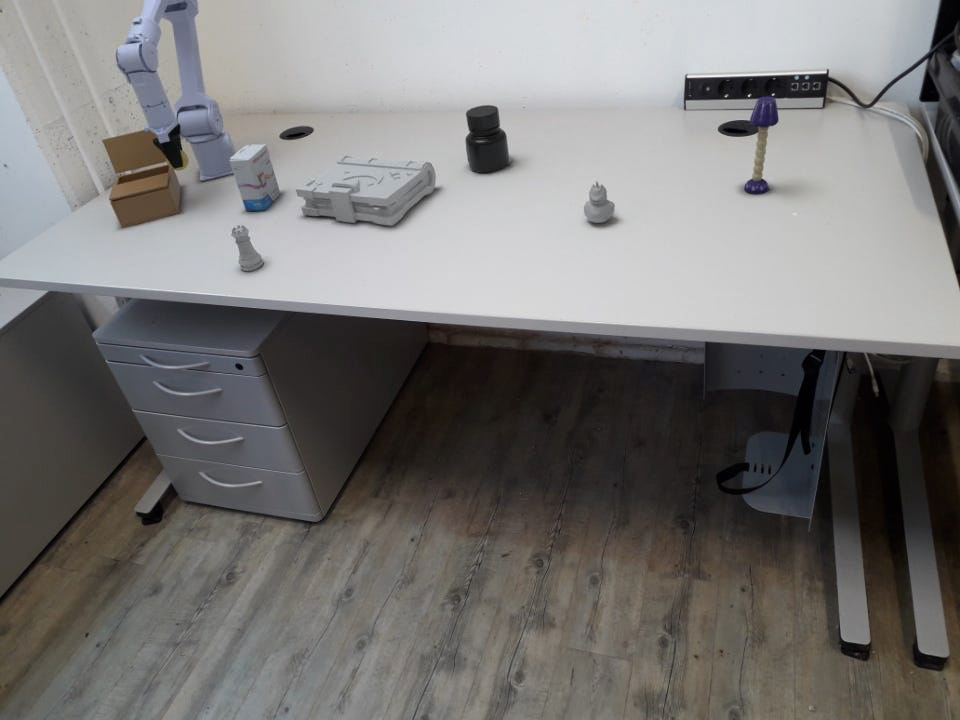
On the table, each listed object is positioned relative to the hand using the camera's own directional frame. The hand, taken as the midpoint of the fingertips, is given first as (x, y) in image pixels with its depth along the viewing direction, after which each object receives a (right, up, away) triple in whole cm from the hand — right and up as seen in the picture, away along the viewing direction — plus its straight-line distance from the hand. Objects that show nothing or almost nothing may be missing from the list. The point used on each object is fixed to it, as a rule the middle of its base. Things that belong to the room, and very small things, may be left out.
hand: (178, 163), depth 167 cm
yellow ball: (0, +1, -1) cm, 1 cm away
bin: (-8, -8, +6) cm, 13 cm away
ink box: (+19, -9, -2) cm, 22 cm away
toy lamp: (+118, -13, -29) cm, 122 cm away
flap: (-12, +5, +6) cm, 14 cm away
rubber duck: (+89, -18, -30) cm, 95 cm away
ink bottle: (+69, -1, -3) cm, 69 cm away
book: (+42, -11, -9) cm, 44 cm away
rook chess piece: (+24, -26, -25) cm, 43 cm away
